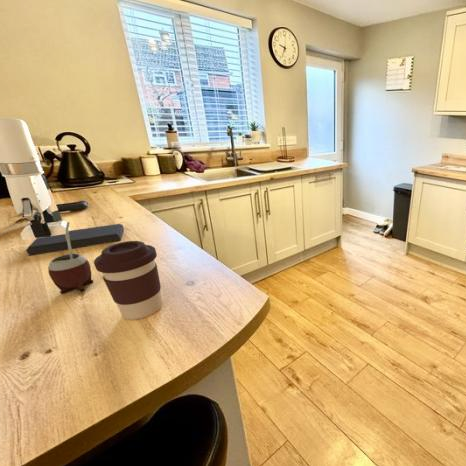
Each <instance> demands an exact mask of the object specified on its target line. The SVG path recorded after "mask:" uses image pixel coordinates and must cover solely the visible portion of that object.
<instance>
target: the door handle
mask: <svg viewBox="0 0 466 466" xmlns="http://www.w3.org/2000/svg"><path fill="white" fill-rule="evenodd" d="M88 205H89V202H88V201H87V200H79V201H74V202H73V201H72V202H67V203H66V202H65V203H56V206H57V208H58V211H59V213H60V215H62V214H69V213H72V212H77V211H84V210H87V209H88ZM21 217H22V218H25V217H24V214H22V215H21Z"/></svg>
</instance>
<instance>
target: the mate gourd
mask: <svg viewBox="0 0 466 466" xmlns="http://www.w3.org/2000/svg"><path fill="white" fill-rule="evenodd" d="M66 222H67V224H66V234H65V238H66V239H67V244H68V249H67V250H68V254H63V255H60V256H57V257H55V258H53V259H52V260H50V262H49V264H48V267H47V270H48V275H49V277H50V279H51V281H52V283H53V284H54V285H55V286H56V288H58V289H59V293H60V295H64V294H66V293H69V292H72V291H74V290H78V291H79V292H81V293H82V292H84V291H86V288H85V286H88V285H90V284H93V283H94V279H92V269H91V268H92V267H91V263H90V261H89V260H88V259H87V258H86V257H85V256H84V255H82V254H80V253H73V249H72V248H71V243H70V239H69V238H70V234H69V231H70V229H69V228H70V221H66Z"/></svg>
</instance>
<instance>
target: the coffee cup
mask: <svg viewBox="0 0 466 466" xmlns="http://www.w3.org/2000/svg"><path fill="white" fill-rule="evenodd" d="M157 255H158V254H157V249H156V247H154V245H150V244H146V243H145V242H143V241H140V240H127V241H120V242H118V243H114V244H110V245H109V246H107V247H105V248H104V249H103V250H102V251H101V254H100V255H98V256H96V257H95V259H94V260H93V265H94V267H95V270H96V271H97V272H99V273H102V275H103V276H102V279H103V281H104V283H105V285H106V287H107V290H108V291H109V294H110V295H111V298H112V300H113V302H114V303H115V304H116V305H117V308H118V309H119V312H120V314H121V316H122V317H123V318H124V319H126V320H131V321H133V320H141V319H145V318H148V317H150V316H152V315H153V314H156V313H157V312H158V311H159V310H160V309H161V308H162V306H163V298H162V293H161V287H162V285H161V280H160V276H159V271H158V265H157V263H156V261H155V259H156V258H157Z"/></svg>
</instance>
